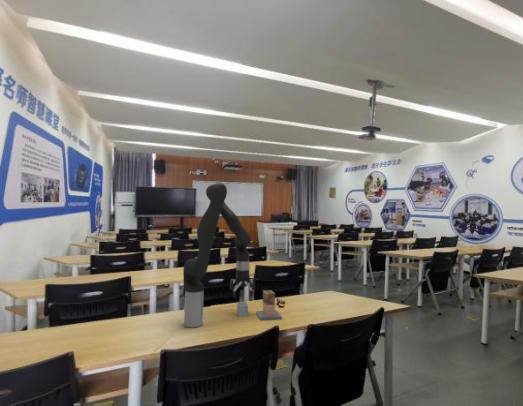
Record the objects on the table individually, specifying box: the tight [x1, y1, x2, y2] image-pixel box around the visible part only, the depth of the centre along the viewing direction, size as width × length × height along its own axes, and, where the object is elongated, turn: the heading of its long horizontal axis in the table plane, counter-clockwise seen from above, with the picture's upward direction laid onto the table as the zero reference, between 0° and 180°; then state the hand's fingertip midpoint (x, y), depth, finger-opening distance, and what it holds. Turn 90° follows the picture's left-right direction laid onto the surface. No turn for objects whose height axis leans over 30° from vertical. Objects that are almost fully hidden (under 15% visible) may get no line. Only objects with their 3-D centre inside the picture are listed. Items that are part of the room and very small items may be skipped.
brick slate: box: [236, 301, 249, 318], centre depth 188 cm, size 5×8×6 cm, turn 12°
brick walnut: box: [262, 289, 276, 306], centre depth 185 cm, size 5×8×6 cm, turn 12°
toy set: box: [276, 297, 286, 309], centre depth 207 cm, size 12×11×5 cm
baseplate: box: [255, 301, 283, 321], centre depth 184 cm, size 12×12×8 cm
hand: (242, 297), depth 188 cm, fingers open, 8 cm apart
